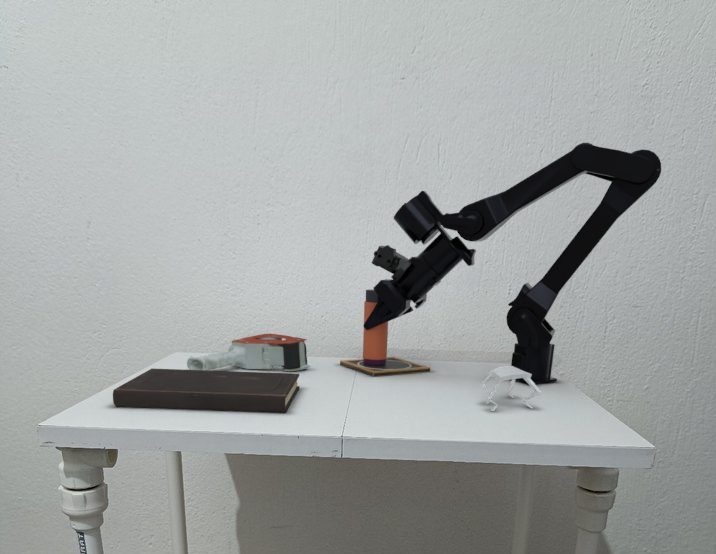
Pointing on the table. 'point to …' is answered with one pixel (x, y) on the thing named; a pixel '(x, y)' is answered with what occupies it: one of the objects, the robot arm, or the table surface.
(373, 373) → the square coaster
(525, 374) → the white legged figure
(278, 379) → the hardcover book
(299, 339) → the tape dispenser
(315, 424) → the table surface
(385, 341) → the dot marker
